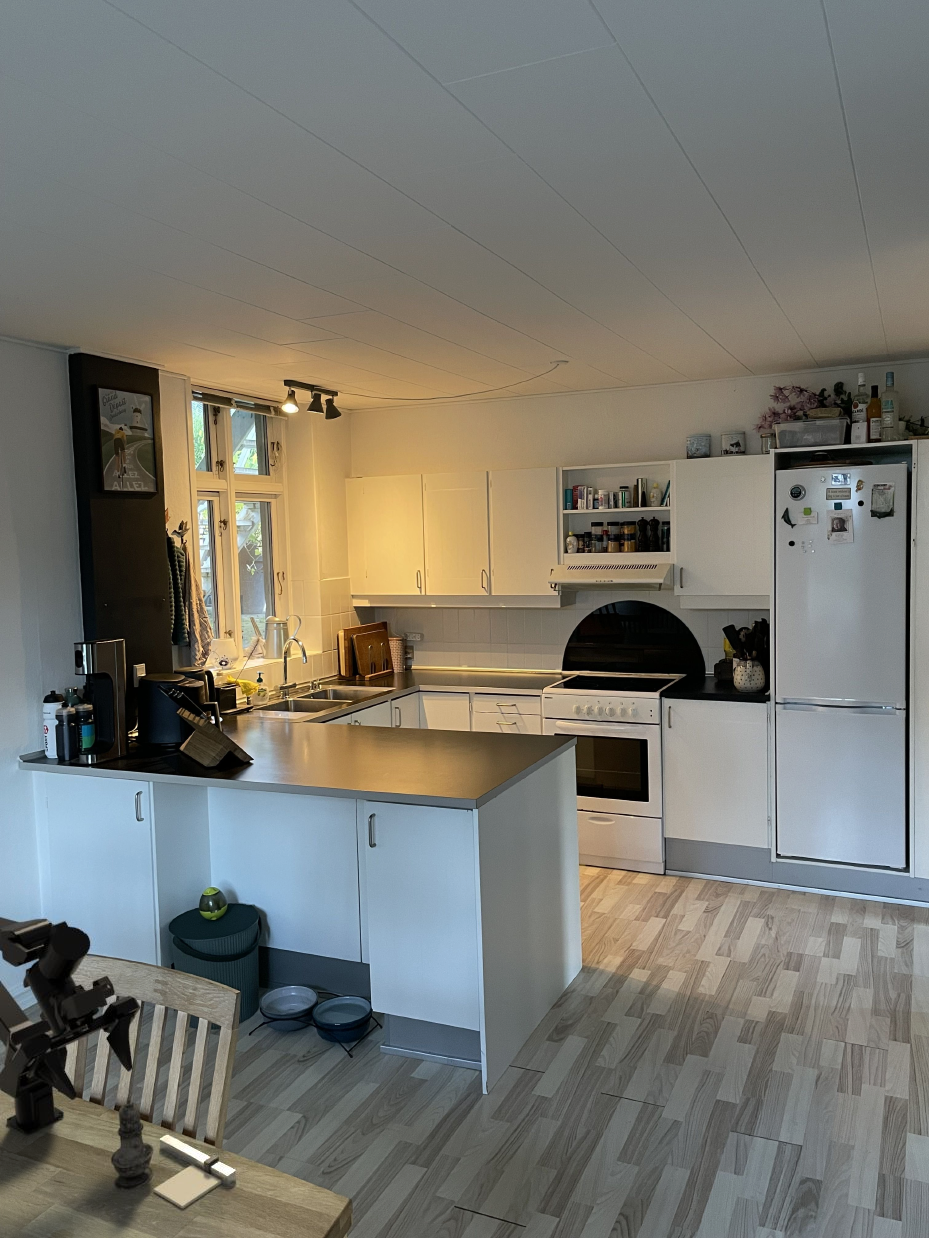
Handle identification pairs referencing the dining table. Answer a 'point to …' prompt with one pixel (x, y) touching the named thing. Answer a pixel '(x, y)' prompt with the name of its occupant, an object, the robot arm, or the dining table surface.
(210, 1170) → the white rectangular bar
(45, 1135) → the dining table surface
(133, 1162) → the dark grey tiered figure
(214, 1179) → the groove pad
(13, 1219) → the dining table surface
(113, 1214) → the dining table surface
